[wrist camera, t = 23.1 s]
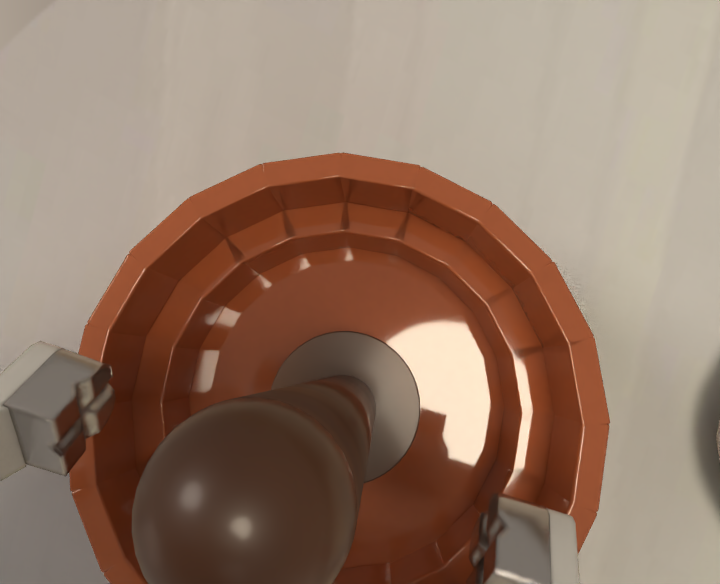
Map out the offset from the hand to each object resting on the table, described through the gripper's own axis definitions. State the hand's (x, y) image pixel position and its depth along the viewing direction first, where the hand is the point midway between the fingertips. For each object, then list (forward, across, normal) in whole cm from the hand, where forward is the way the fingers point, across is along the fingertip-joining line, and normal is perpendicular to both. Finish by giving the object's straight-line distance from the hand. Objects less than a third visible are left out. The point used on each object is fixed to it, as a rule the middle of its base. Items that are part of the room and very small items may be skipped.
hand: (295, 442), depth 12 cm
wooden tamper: (+7, 0, +7) cm, 10 cm away
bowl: (+8, 0, +8) cm, 11 cm away
